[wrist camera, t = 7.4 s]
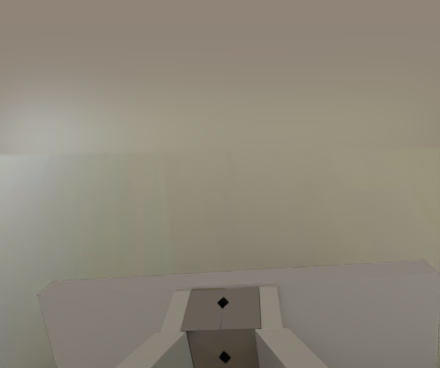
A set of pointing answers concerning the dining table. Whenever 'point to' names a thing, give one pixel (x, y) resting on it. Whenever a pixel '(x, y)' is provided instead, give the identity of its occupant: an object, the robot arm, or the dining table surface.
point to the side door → (289, 303)
